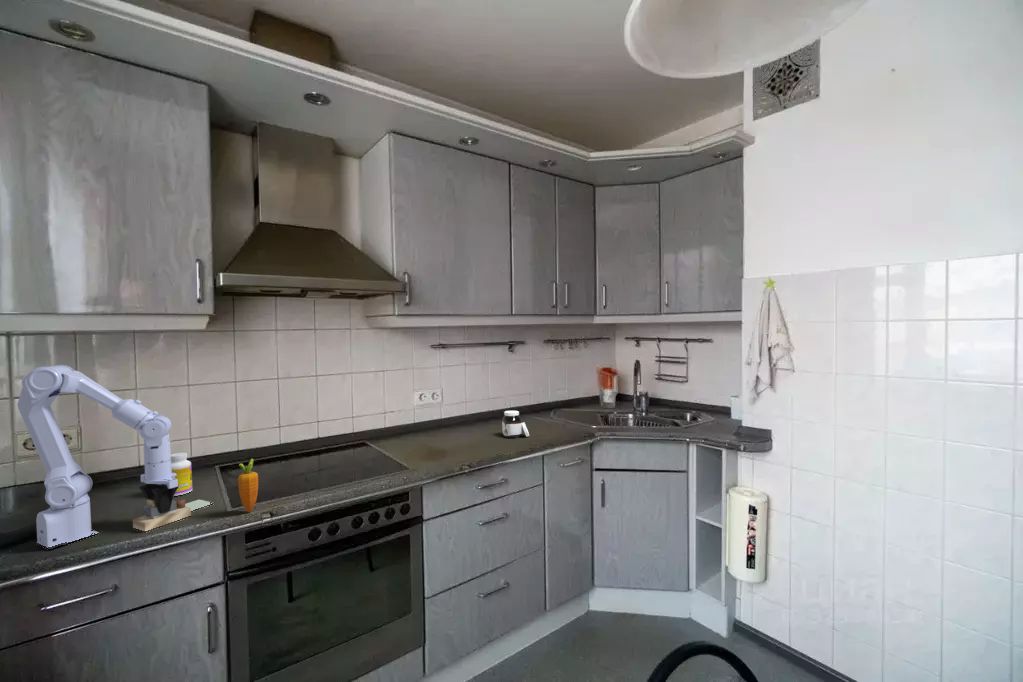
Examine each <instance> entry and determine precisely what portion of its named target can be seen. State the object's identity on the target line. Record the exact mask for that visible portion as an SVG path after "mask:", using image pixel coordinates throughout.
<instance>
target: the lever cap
mask: <svg viewBox="0 0 1023 682" xmlns="http://www.w3.org/2000/svg"><path fill="white" fill-rule="evenodd" d="M176 501H177V500H175V499H173V500H172V504H171V508H170V511H168V512H171V511H174V510H177V504H176ZM142 510H143V511H142V512H143V516H147V517H151V518H152V517H155V516H158V515H161V513H160V512H159V509H158V504H157V500H156V498H155V497H152V498H149V499H146V505H144V506H142ZM165 513H167V512H165ZM162 514H164V513H162Z"/></svg>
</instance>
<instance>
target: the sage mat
mask: <svg viewBox="0 0 1023 682" xmlns="http://www.w3.org/2000/svg"><path fill="white" fill-rule="evenodd" d="M210 502H211V501H207V500H204V499H196V500H192V501H190V502H187V503H186V502H185V507H189V508H191V511H193V510H195V509H198V508H201V507H204V506H207V505H210ZM212 503H213V502H212ZM212 503H211V504H212ZM210 506H211V505H210ZM207 507H208V506H207ZM204 508H205V507H204ZM193 512H194V511H193Z"/></svg>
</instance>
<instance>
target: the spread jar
mask: <svg viewBox="0 0 1023 682" xmlns="http://www.w3.org/2000/svg"><path fill="white" fill-rule="evenodd" d="M503 414H504V416H503V417H502V421H501V422H502V423H501V425H502V426H501V427H502V434H503V437H504V438H506V439H517V438H516V437H518V438H520V437H521V435H522V433H523V432H524V434H525V437H526V438H527V437H530V433H529V430H528V428H527V424H526V422H525V421H524V422H522V418H521V416H520V411H518V410H505V411H503Z"/></svg>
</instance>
